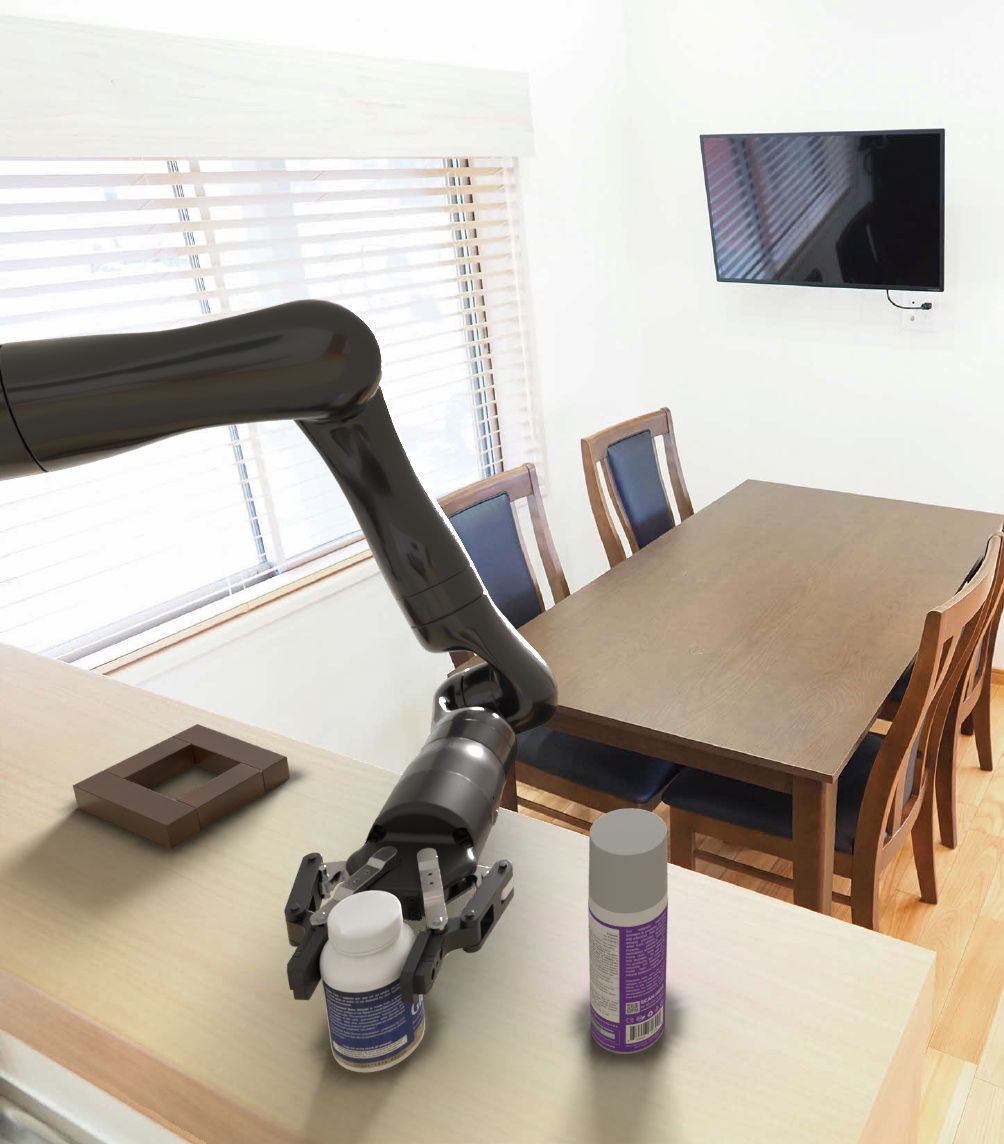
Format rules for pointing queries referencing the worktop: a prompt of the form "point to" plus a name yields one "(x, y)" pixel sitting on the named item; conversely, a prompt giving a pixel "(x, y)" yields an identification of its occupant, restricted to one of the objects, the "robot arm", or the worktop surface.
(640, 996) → the container
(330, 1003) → the pill bottle
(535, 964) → the worktop surface
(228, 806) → the frame
